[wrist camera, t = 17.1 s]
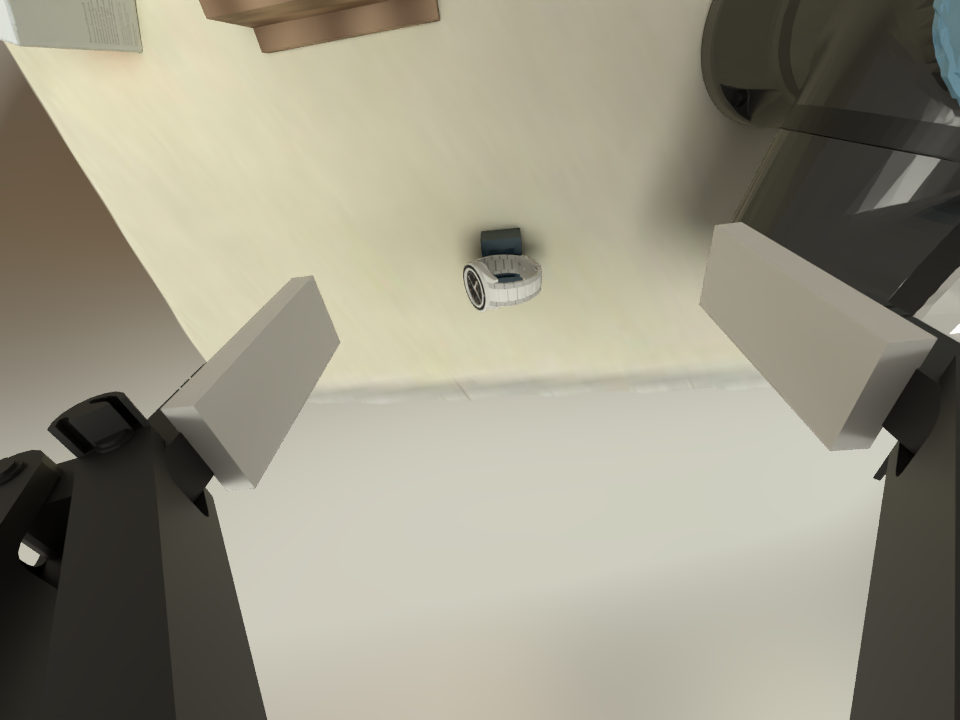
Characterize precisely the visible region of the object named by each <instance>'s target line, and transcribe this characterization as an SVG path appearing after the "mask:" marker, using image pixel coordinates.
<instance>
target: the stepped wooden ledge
mask: <svg viewBox="0 0 960 720" xmlns="http://www.w3.org/2000/svg"><path fill="white" fill-rule="evenodd" d="M199 1H200V4H201V6H202V9H203V11H204V14H205V16H206V18H207V19H211V20H216V21H221V22H226V23H231V24H236V25H241V26H246V27H251V28H253V29H254V32H255V34H256V37H257V40H258V43H259V45H260V48H261V51H262V53H272V52H278V51H283V50H288V49H293V48H299V47H304V46H309V45H314V44H320V43H325V42H330V41H335V40H340V39H346V38H351V37H356V36H361V35H367V34H372V33H377V32H382V31H388V30H393V29H398V28H403V27H409V26H414V25H419V24H424V23H430V22H435V21H440V16H439V10H438V3H437V0H199Z"/></svg>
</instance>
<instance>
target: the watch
mask: <svg viewBox="0 0 960 720" xmlns="http://www.w3.org/2000/svg"><path fill="white" fill-rule="evenodd" d="M481 250H482V258H479V259H477V260H475V261H473V262H469V263H467V264H466V265H465V267H464V270H463V279H464V285H465V289H466V292H467V294H468V297H469V299H470V301H471V303H472V304H473V306H474V307H475V308H476V309H477V310H479V311H480V312H486V309H499V308H500V307H502V306H512V305H517V304H521V303H524V302H527V301H529V300H531V299H532V298H534V297H535V296H536V295H537V294H539V292H540V290H541V283H542V270H541V265H540V264H539V263H537V262H536V261H535V260H533V259H531V258H529V257H528V256H525V255H522V249H521V234H520V228H514V229H504V230H493V231H483V232H481ZM523 278H524V280H523ZM504 286H505V288H504ZM507 289H508V291H507ZM505 302H506V303H505Z"/></svg>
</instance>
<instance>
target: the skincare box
mask: <svg viewBox="0 0 960 720" xmlns="http://www.w3.org/2000/svg"><path fill="white" fill-rule="evenodd" d="M0 40H2V41H6V42H9V43H12V44H15V45H18V46H26V47H45V48H62V49H80V50H99V51H119V52H139V53H141V52H142V45H141V39H140V32H139V26H138V20H137V13H136V6H135V0H0Z"/></svg>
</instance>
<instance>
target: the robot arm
mask: <svg viewBox="0 0 960 720" xmlns="http://www.w3.org/2000/svg"><path fill="white" fill-rule="evenodd" d="M701 63H702V72H703V78H704V82H705V85H706V89H707V91H708V93H709V95H710V97H711V99H712V101H713V102H714V104H715V105H716V106H717V108H718V109H719V110H720V111H721V112H722V113H724V114H725V115H726V116H727V117H729V118H731V119H733V120H735V121H737V122H739V123H742V124H746V125H752V126H757V127H764V128H776V127H780V128H782V129H779V131H778V133H777V135H776V137H775V139H774V141H773V143H772V145H771V146H770V148H769V150H768V152H767V154H766V156H765V158H764V160H763V162H762V164H761V165H760V167H759V169H758V171H757V173H756V175H755V177H754V179H753V180H752V182H751V184H750V186H749V188H748V190H747V192H746V194H745V195H744V197H743V199H742V201H741V203H740V205H739V207H738V209H737V210H736V212H735V214H734V216H733V218H732V220H731V222H730V223H729V224H721V225H715V228H714V233H713V238H712V243H711V248H710V253H709V258H708V263H707V268H706V273H705V277H704V281H703V288H702V293H701V298H700V303H699V305H700V306H701V307H702V308H703V309H704V311H705V312H706V313H707V314H708V315H709V316H710V317H711V318H712V320H713V321H714V322H715V323H716V324H717V325H718V326H719V327H720V328H721V330H722V331H723V332H724V333H725V334H726V335H727V336H728V337H729V339H730V340H731V341H732V342H733V343H734V344H735V345H736V346H737V348H738V349H739V350H740V351H741V352H742V353H743V354H744V355H745V356H746V358H747V359H748V360H749V361H750V362H751V363H752V364H753V365H754V367H755V368H756V369H757V370H758V371H759V372H760V373H761V374H762V376H763V377H764V378H765V379H766V380H767V381H768V382H769V383H770V384H771V386H772V387H773V388H774V389H775V390H776V391H777V392H778V393H779V395H780V396H781V397H782V398H783V399H784V400H785V401H786V402H787V403H788V405H789V406H790V407H791V408H792V409H793V410H794V411H795V412H796V414H797V415H798V416H799V417H800V418H801V419H802V420H803V421H804V423H805V424H806V425H807V426H808V427H809V428H810V429H811V430H812V432H814V434H815V435H816V436H817V437H818V438H819V439H820V441H821V442H822V443H823V444H824V445H825V446H826V447H827V448H828V449H829V450H830V451H838V450H853V449H868V448H870V447H871V445H872V443H873V442H874V440H875V438H876V437H877V435H878V434H879V432H880V431H881V429H882V427H884V428H885V429H886V430H887V431H888V432H889V433H890V434H892V435H893V436H894V437H895V438H896V439H897V440H898V442H897V443H896V445H895V446H894V448H893V449H892V451H891V452H890V453H889V455H888V457H887V458H886V459H885V461H884V462H883V464H882V465H881V467H880V468H879V470H878V471H877V473H876V474H875V476H874V477H873V478H875V479H877V480H881V479H882V478H883V476H884V475H886V480H885V487H884V493H883V500H882V506H881V513H880V520H879V527H878V533H877V540H876V547H875V554H874V560H873V567H872V574H871V580H870V587H869V594H868V601H867V607H866V614H865V621H864V628H863V634H862V641H861V648H860V655H859V661H858V668H857V674H856V682H855V688H854V696H853V701H852V708H851V715H850V720H960V0H713V3H712V5H711V8H710V11H709V14H708V18H707V21H706V25H705V29H704V35H703V41H702V53H701ZM790 130H791V131H790ZM795 131H797V132H795ZM801 132H802V133H801ZM806 133H807V134H806ZM822 136H823V137H822ZM843 140H844V141H843ZM339 344H340V340H339V338H338V336H337V333H336V331H335V328H334V326H333V323H332V321H331V318H330V316H329V314H328V311H327V309H326V306H325V304H324V301H323V299H322V296H321V294H320V292H319V289H318V287H317V284H316V282H315V279H314V277H313V276H305V277H297V278H292V279H291V280H290V281H289V282H288V283H287V284H286V285H285V286H284V287H283V288H282V289H281V290H280V291H279V292H278V293H277V294H275V295H274V296H273V297H272V298H271V299H270V300H269V301H268V302H267V303H266V304H265V305H264V306H263V307H262V308H261V309H260V310H259V311H258V312H257V313H256V314H255V315H254V316H253V317H252V318H251V319H250V320H249V321H248V322H247V323H246V324H245V325H244V326H243V327H242V328H241V329H240V330H239V331H238V332H237V333H236V334H235V335H234V336H233V337H232V338H231V339H230V340H229V341H228V342H227V343H226V344H225V345H224V346H223V347H222V348H221V349H220V350H219V351H218V352H217V353H216V354H215V355H214V356H213V357H212V358H211V359H210V360H209V361H208V362H206V363H205V364H204V365H202V366H201V367H200V368H199V369H198V370H197V371H196V372H195V373H194V374H193V375H192V376H191V379H188V380H187V381H186V382H185V383H184V384H183V385H182V386H181V389H178V390H177V391H176V392H175V393H174V394H173V395H172V396H171V397H170V398H169V399H168V400H167V401H166V402H165V403H164V404H163V405H162V406H161V407H160V408H159V409H158V410H157V411H156V412H155V413H153V415H151V416H150V417H149V419H146V418H145V417H144V416H143V415H142V413H141V412H140V411H139V410H138V409H137V408H136V407H135V405H134V404H133V403H132V402H131V401H130V400H129V398H128V397H127V396H126V395H125V394H124V393H122V392H110V393H104V394H102V395H98V396H95V397H92V398H90V399H87V400H85V401H83V402H81V403H79V404H77V405H75V406H73V407H72V408H70V409H69V410H67V411H65V412H64V413H62V414H61V415H60V416H59V417H58V418H56V419H55V420H54V421H53V422H52V423H51V425H50V426H49V428H48V431H49V432H50V433H51V434H52V435H53V436H54V437H56V438H57V439H58V440H59V441H60V442H61V443H62V444H63V445H64V446H65V447H66V448H67V449H69V450H70V451H71V452H72V453H73V454H74V455H75V456H76V457H77V458H76V459H72V460H69V461H66V462H62V463H59V464H56V463H54V462H53V461H52V460H51V459H50V458H49V457H47V456H46V455H45V454H44V453H43V452H42V451H41V450H30V451H26V452H23V453H19V454H16V455H14V456H11V457H9V458H4V459H2V460H0V720H267V717H266V713H265V709H264V705H263V700H262V696H261V693H260V688H259V684H258V680H257V676H256V672H255V668H254V664H253V659H252V655H251V651H250V647H249V643H248V639H247V635H246V631H245V627H244V623H243V619H242V614H241V610H240V606H239V603H238V598H237V594H236V590H235V586H234V582H233V578H232V574H231V570H230V565H229V561H228V557H227V553H226V549H225V545H224V541H223V537H222V532H221V528H220V525H219V520H218V516H217V512H216V508H215V504H214V500H213V497H212V495H211V494H210V493H209V492H208V490H207V489H206V488H205V487H206V485H207V484H208V482H209V481H210V480H211V478H212V477H213V475H214V476H215V477H216V478H217V479H218V481H219V482H220V483H221V484H222V486H223V487H224V488H225V489H226V490H241V489H255V488H256V486H257V484H258V483H259V481H260V479H261V478H262V476H263V474H264V472H265V471H266V469H267V467H268V465H269V464H270V462H271V460H272V459H273V457H274V455H275V454H276V452H277V450H278V448H279V447H280V445H281V443H282V441H283V439H284V438H285V436H286V435H287V433H288V431H289V429H290V428H291V426H292V424H293V423H294V421H295V419H296V418H297V416H298V414H299V412H300V411H301V409H302V407H303V406H304V404H305V402H306V400H307V399H308V397H309V395H310V393H311V392H312V390H313V388H314V387H315V385H316V383H317V381H318V380H319V378H320V376H321V375H322V373H323V371H324V369H325V368H326V366H327V364H328V363H329V361H330V359H331V357H332V356H333V354H334V352H335V351H336V349H337V347H338V345H339ZM21 542H22V543H24V544H25V545H27V546H28V547H30V548H31V549H32V550H34V551H36V552H37V553H38V554H40V557H39V559H38V561H37V562H36V564H35V565H34V566H30V565H27V564H26V563H24V562H23V561H21V560H20V559H19V555H18V551H19V547H20V543H21Z"/></svg>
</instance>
